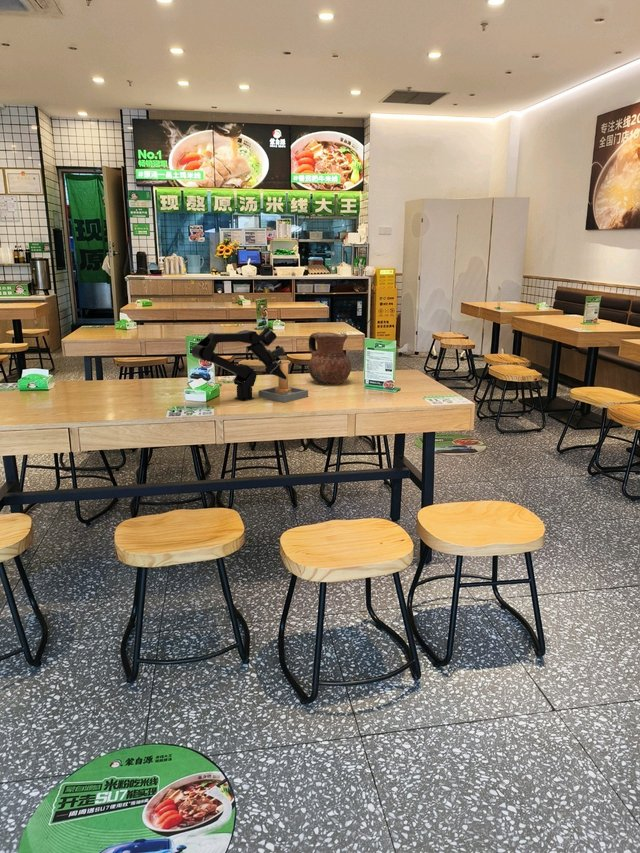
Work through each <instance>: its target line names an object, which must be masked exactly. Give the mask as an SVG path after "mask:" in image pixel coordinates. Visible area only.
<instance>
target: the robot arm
mask: <svg viewBox="0 0 640 853" xmlns="http://www.w3.org/2000/svg"><path fill="white" fill-rule="evenodd" d="M276 339H277V335H276V333H275V332H274V331H272V330H271V329H270V328H269V327H265V328H264V329H263V330H262V331H261V332H260V333H259V334H258V332H257V331H256V330H255V331H253V330H250V329H249V330H248V329H244V330H240V331H237V332H209V333H208V334H207V335H206V336H205V337H204V338H203V339H201V340H200V341H198V343H197V344H196V345H194V346H193V347H192V349H191V356H192V357H193V358H195V359H198V360H201V361H206V362H210V363H212V364H214V365H216V366H218V367H220V368H222V369H224V370H227V371H228V372H230V373H232V374H233V375H234V376H235V378H234V379H233V381H232V382H233V383H234V386H235V385H236V397H234V399H235V400H240V401H249V400H255V397H254V396H253V388H252V387H254V385H255V383H256V379H257V371H256V370H255V368H252V367H250V366H249V365H246V364H242V363H239V365H237V364H236V363H234V362H232V361H230V360H228V359H226V358H223V357H222V356H220V355H217V353H215V352H214V351H215V349H216V347H217V344H219V343H244V344H250V345H247V346H245V353H246V354H248V353H249V352H251V353H252V354H253V355H254V356H255V357H256V358H257V359H258V361H259V362H261V363H262V364H263V365H264V366H265V368H264V369H265V373H266V374H268V375H273V376H276V377H280V378H283V379H286V378H287V377H286V376H285V374H284V373H283V372H282V370H281V369H280V364H279V365H278V363H282V360H281V359H282V358H281V357H280V356H284V355H286V351H285V349H284V347H283V346H281V345H276V346H275V348H274V349H273V350H271V349H267V347H269V346H270V345H272V343H273V342H274V341H275V340H276Z"/></svg>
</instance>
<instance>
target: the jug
mask: <svg viewBox="0 0 640 853" xmlns="http://www.w3.org/2000/svg"><path fill="white" fill-rule="evenodd" d="M348 337H349V336H348V334H347V333H335V332H329V331H328V332H327V331H325V332H319V331H317V332H313V333H310V335H309V338H308V349H309V350H308V351H309V353H310V354H311V357H310V358H309V359H310V360H309V361H308V363H307V364H308V365H307V366H308V367H307V369H308V372H309V375H310V376H311V378H312V379H313V380H314V382H316V383H317V384H319V385H339V384H340V385H341V384H343V383H344V382H345V381H347V380H348V378H349V377H350V374H351V372H352V369H353V367H352V363H351V361H350V359H349V357H348V356H347V355H346V354H345V352H344V345H345V342H346V340H347V339H348ZM316 346H317V347H316Z"/></svg>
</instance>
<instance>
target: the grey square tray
mask: <svg viewBox="0 0 640 853" xmlns="http://www.w3.org/2000/svg"><path fill="white" fill-rule="evenodd" d="M277 387H278V386H275V387H270V388H269V387H268V388H265V389H260V390H258V397H259V398H262V399H266V400H271V401H275V402H280V403H289V402H292V401H297V400H300V399H305V398H308V397H309V390H307V389H304V388H297V387H294V386H289V385H288V387H289V388H291V392H290V393H277V392H275V388H277Z"/></svg>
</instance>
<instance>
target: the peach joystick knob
mask: <svg viewBox="0 0 640 853" xmlns="http://www.w3.org/2000/svg"><path fill="white" fill-rule="evenodd" d="M279 364H280V369H281V370H282V372H283V373H284V374H285V376H286V377H287V378H286V379H283V378H280V377H278V376H277V377H278V386H276V387H277V388H275V392H277V393H290V392H291V388H289V387H290V386H289V363H288V362H281V363H278V365H279ZM288 386H289V387H288Z"/></svg>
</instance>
